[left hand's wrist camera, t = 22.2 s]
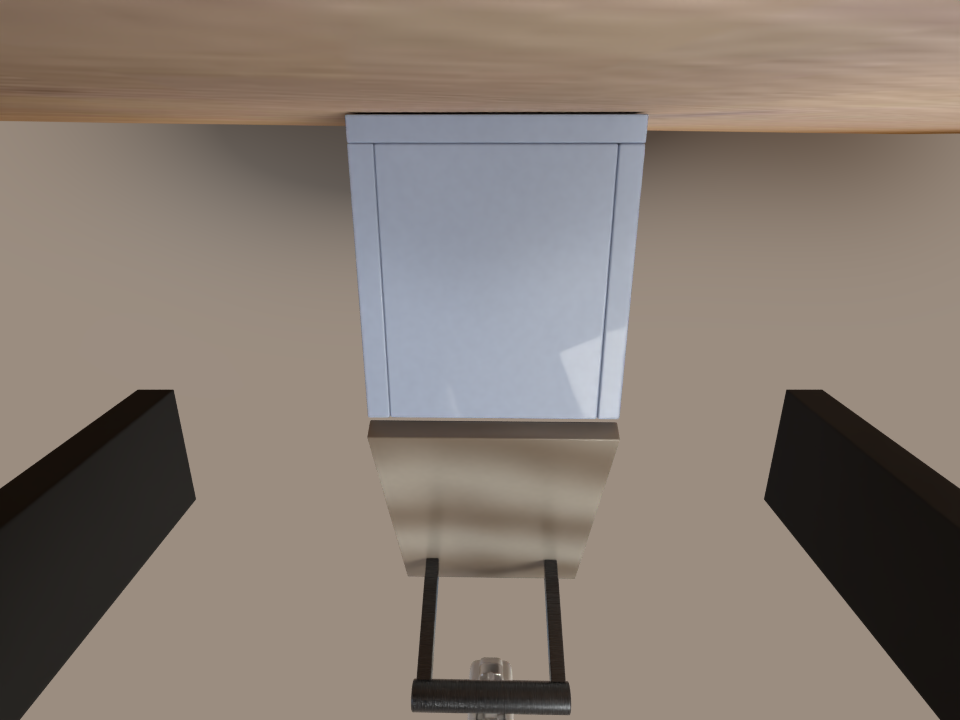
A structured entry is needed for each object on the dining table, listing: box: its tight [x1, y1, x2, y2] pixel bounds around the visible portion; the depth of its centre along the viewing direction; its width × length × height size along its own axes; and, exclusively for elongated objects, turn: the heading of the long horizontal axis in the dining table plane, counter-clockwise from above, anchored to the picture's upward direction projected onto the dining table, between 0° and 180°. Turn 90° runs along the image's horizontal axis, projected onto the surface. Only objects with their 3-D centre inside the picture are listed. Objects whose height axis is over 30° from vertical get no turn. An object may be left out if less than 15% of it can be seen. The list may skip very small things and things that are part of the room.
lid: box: [368, 420, 620, 715], centre depth 26 cm, size 15×10×8 cm
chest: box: [345, 114, 648, 419], centre depth 27 cm, size 15×10×11 cm
